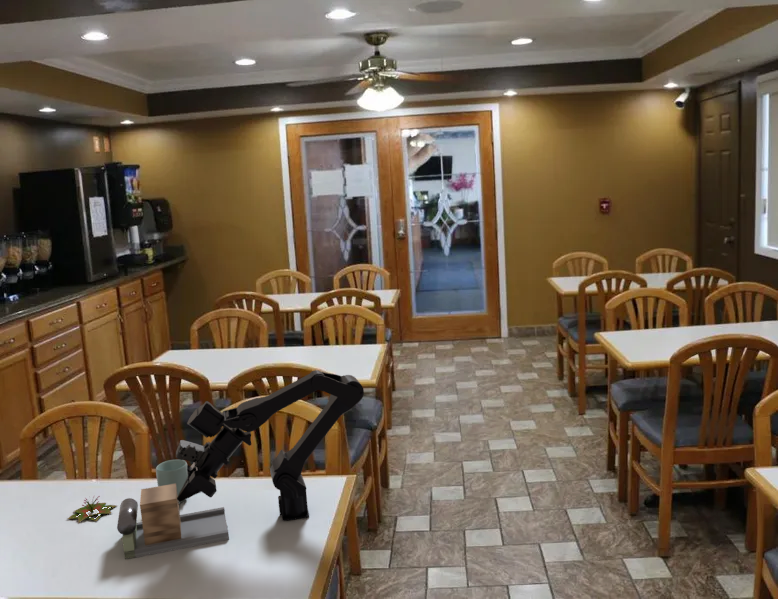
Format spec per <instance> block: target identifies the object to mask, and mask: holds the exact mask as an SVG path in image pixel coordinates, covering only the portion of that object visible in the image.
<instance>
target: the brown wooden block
mask: <svg viewBox="0 0 778 599" xmlns="http://www.w3.org/2000/svg"><path fill="white" fill-rule="evenodd" d="M177 497H178V495H177V487H176V484H170V485H164V486H158V485H157V486H152V487H146V488H141V489H140V499H139V500H140V501H139V509H140V515H141V522H142V525H143V532H144V540H145V545H150V544H156V543H161V542H166V541H171V540H177V539H181V520H180V515H181V513H180V506H179V504H180V503H178V500H177Z"/></svg>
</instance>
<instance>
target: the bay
mask: <svg viewBox="0 0 778 599" xmlns="http://www.w3.org/2000/svg"><path fill="white" fill-rule="evenodd" d="M138 506H139V504H138V501H137V500H135V499H134V498H132V497H131V498H130V497H128V498H125V499H124V500H122V501H121V503H120V506H119V510H118V511H119V513H118V518H117V523H116V524H117V526H116V528H117V532H118V533H120V535H122V538H121V540H122V547H123V553H124V554H123V555H124V560H129V559H133V558H139V557H145V556H149V555H150V556H151V555H154V554H155V555H156V554H160V553H166V552H170V551H175V550H180V549H186V548H191V547H197V546H201V545H206V543H207V544H211V543H218V542H222V541H223V542H224V541H226V540H230V536H229V529H228V525H227V518H226V511H225V507H224V506H223V507H217V508H211V509H207V510H206V509H205V510H200V511H194V512H190V513H184V514H180V520H181V539H177V540H171V541H166V542H161V543H156V544H150V545H145V540H144V532H143V525H142V521H140V522H137V521H138V520H137V519H138V510H139V507H138Z"/></svg>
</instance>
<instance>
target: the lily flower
mask: <svg viewBox="0 0 778 599" xmlns="http://www.w3.org/2000/svg"><path fill="white" fill-rule="evenodd" d="M89 498H91V497H90V496H89ZM94 498H95V496H93V497H92V499H94ZM99 498H100V495H98V496H97V498H95V500H93V501H91V502H90V500H89V499H87V498H86V497H84V499H83V503H84V504H85V505H84V504H81V506H82V507H80V508H78V509H76V510H73V512H75V513H72V514H71V515H70V516H69V517H68V518H66V520H68V519H69V520H70V519H71V520H72V519H77V520H78V524H79V523H81V522H82V521H83V520H86V519H88V520H92V521H95V522H98V520H99V519H100V518H101V516H102V514H109V515H112V514H111V513H112V512H111V509H113V508H115V507H117V506H119V505H117V504H116V505H115V504H107V502H100V501H98V499H99ZM96 501H97V502H96ZM106 504H107V505H106ZM103 507H107V508H104V509H102V508H103ZM109 507H112V508H109ZM108 508H109V509H108ZM95 509H97V510H98V511H99V513H97V512H96V513H97V514H96V513H94V512H95V511H93V510H95ZM88 511H90V512H89V513H90V514H89V516H88V515H87V514H86V512H88ZM92 512H93V513H92ZM79 514H81V515H79ZM98 514H101V515H100V516H98V517H97V518H96V520H95V519H94V518H89V517H93V516H94V515H98ZM78 515H79V516H78ZM76 516H78V517H76Z"/></svg>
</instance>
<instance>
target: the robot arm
mask: <svg viewBox="0 0 778 599" xmlns="http://www.w3.org/2000/svg"><path fill="white" fill-rule="evenodd" d="M317 391H321V392H325V393H327V394H329V398H328V401H327V403H326V405H325V406H324V407H323V409H322V410H321V411H320V412H319V414H318V415H317V416H316V418H315V419H314V420H313V422H311V423H310V425H309V426H308V428H307V429H306V430H305V432H304V433H303V434H302V436H300V437H299V439H298V441H297V442H296V443H295V444H294V445H293V447H292V448H291V449H289V450H288V451H284V450H283V449H280V450H279V451H278V454H277V455H276V457H275V458H274V459H273V460H271V461H270V462H271V466H270V469H269V470H270V471H269V472H270V476H271V480H272V481H271V482H272V485H273V486H274V488H275V489H276V490H279V493H280V494H279V495H278V496H277V500H278V508H279V509H278V510H279V516H281V519H282V520H281V521H283V522H285V521H291V520H297V519H298V520H299V519H306V518H309V517H310V512H309V507H308V506H309V505H308V497H307V485H306V483H305V481H304V478H303V475H302V472H303V470H304V467H305V464H306V462H307V460H308V459H309V457H311V455H312V454H313V452H314V451H315V450H316V448H317V447H318V446H319V445H320V444H321V442H322V441H323V439H324V438H325V437H326V435H328V434H329V432H330V430H331V429H332V428H333V427H334V426H335V424H336V423H337V421H338V420H339V419H340V418H341V417H342V415H344V414H345V413H347V412H349V411H351V410H352V409H353V408H355V406H356V405H358V403H360V402H361V400H362V399H363V397H364V395H365V393H364V392H365V391H364V387H363V385H362V384H361V382H360V381H359V380H358V379H357V378H356V376H353V375H351V374H345V375H339V374H335V373H328V372H324V371H321V370H318V369H317V370H312V371H311V372H310V373H308V374H306V375H305V376H303V377H301V378H299V379H297V380H295V381H293V382H291V383H289V384H288V385H286V386H284V387H282V388H280V389H278V390H276V391H273V392H272V393H270V394H269V395H266V396H262V397H256V398H252V399H250V400H246V401H244V402H241V403H240V404H239V405H238V406H236V407H234V408H231V409H226V410H222V411H220V410H219V409H218V408H217V407H215V406H213V404H212V403H211V402H209V401H208V400H206V401H205V402H204V403H203V404H202V405H200V406H199V407H197V408H196V409H195V410H194V411H193V413H192V414H191V415H190V416H189V419H188V420H187V422H186V424H187V425H188V426H190V427H191V428H192V429H194V430H195V431H197V432H198V433H199V434H201V435H202V436H204V437H205V438H206V439H209V438H213V437H214V438H213V439H212V440H211V442H210V441H208V442H205V444H203V445H201V444H199V443H195V442H192V441H188V440H184V439H181V440H179V443H178V446H177V449H176V451H175V458H176V460H184V461H186V462H192V464H191V465H188V464H187V474H188V476H187V479H186V481H185V483H184V485H183V487H182V489H181V491H180V493H179V495H178V497H177V500H178V501H180V502H181V501H183V500H184V501H186V500H187V499H189V498H191V497H193V496H195V495H197V494H199V493H202V494H205V496H207V497H209V498H212V497H213V496H214V495H215V493H216V492H217V491H218V490H217V484H216V480H215V479H217V477H218V476H219V475H218V472H219V471H220V470H221V468H222V467H223V466H224V465H226V466H227V465H228V464H229V463H230V460H229V459H230V458H231V456H232V455H233V454H234V453H235V452H236V450H237V449H238V448H240V447H239V446H240V445H241V444H242V443H243V442H244V443H245V444H246V445H248V446H252V432H253V431H257V429H259V428H260V427H261V426H262V425H264V424H265V423H266V422H267V421H269V419H270V418H271V417H272V416H273V415H274V414H276V413H278V412H280V411H281V410H283V409H285V408H287V407H289V406H291V405H293V404H294V403H296V402H298V401H300V400H301V399H304V398H305V397H308V396H310V395H311V394H313V393H315V392H317ZM184 501H183V502H184ZM181 503H182V502H181Z"/></svg>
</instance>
